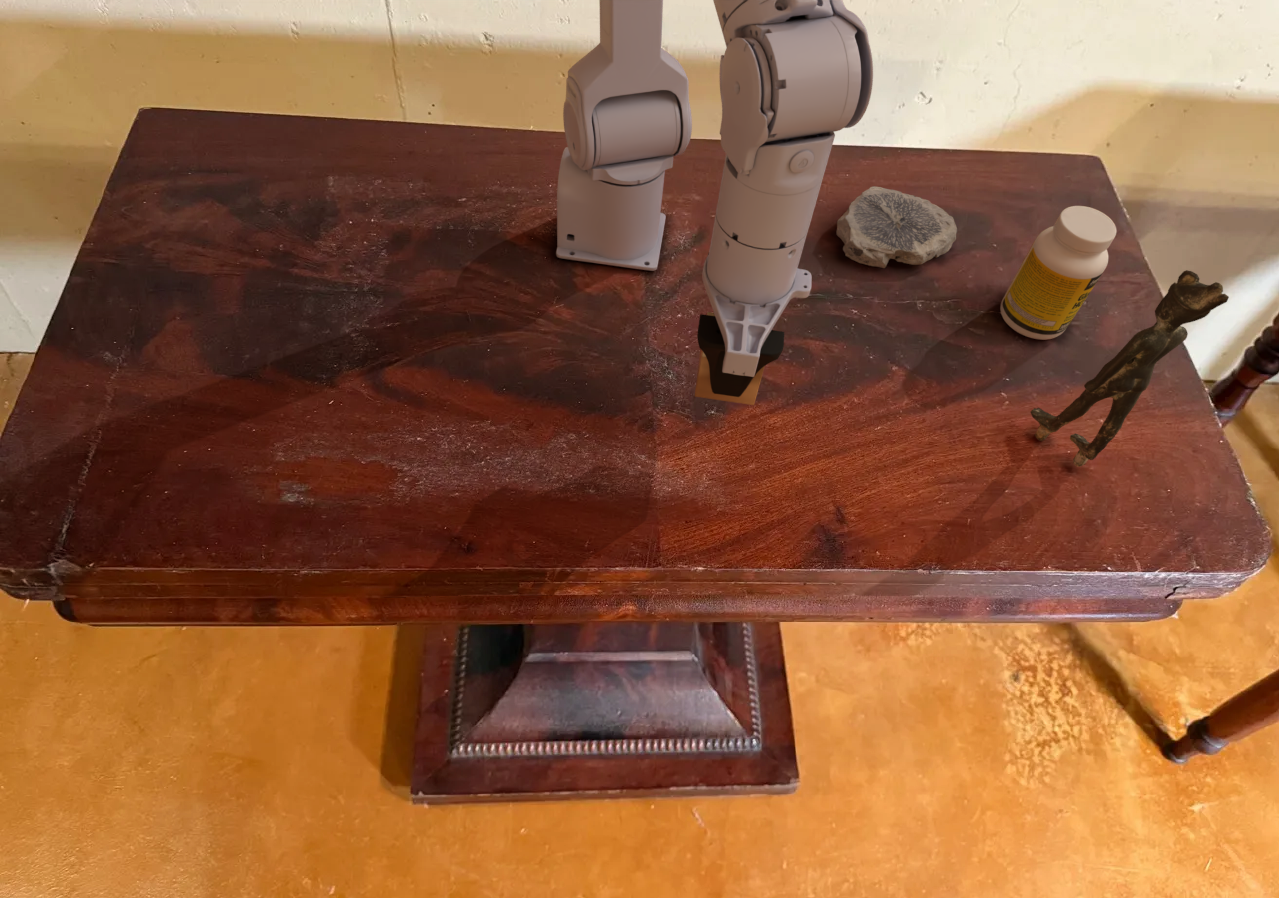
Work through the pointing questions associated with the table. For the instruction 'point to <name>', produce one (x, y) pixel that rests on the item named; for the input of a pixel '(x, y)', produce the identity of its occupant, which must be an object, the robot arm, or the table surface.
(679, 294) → the table surface
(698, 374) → the block
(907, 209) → the fossil
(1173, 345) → the statue
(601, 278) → the table surface
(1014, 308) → the pill bottle
